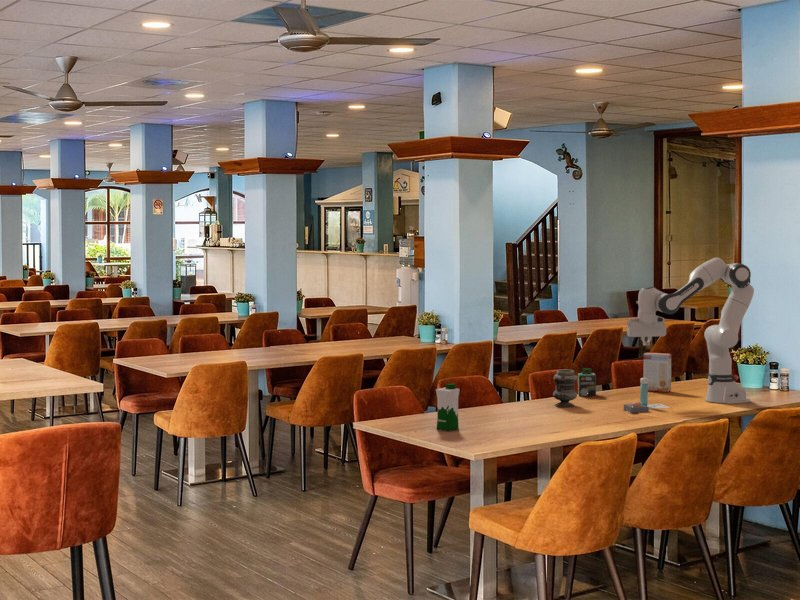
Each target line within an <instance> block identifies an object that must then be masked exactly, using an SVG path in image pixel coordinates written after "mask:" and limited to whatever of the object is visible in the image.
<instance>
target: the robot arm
mask: <svg viewBox="0 0 800 600" xmlns="http://www.w3.org/2000/svg"><path fill="white" fill-rule="evenodd" d="M751 274H752V273H751V270H750V268H749V267H748V266H747V265H746V264H743V263H738V262H737V263H735V262H734V263H726V262H725V261H724V260H723V259H722V258H720V257H713V258H711V259H708V260H706V261H705V262H703V263H702V264H700V265H698V266H697V267H696V268H694V269H693V270H692V271H690V273H689V276H688V282H687V283H686V284H684V285H683V286H682V287H680V289H678V290H677V291H675V292H673V293H665V292H663V291H661V290H659V289H657V288H656V287H654V286H645V287H642V288H641V289H639V292H638V298H637V305H638V310H637V318H629V320H628V321H627V325H626V327H627V328H626V329H627V330H626V335H627V337H628V338H640V340H641V341H642V346H650V345H651V344H650V342H651V341H652V339H653V337H665V336H666V335H667V326H666V323H665V321H666V319H665V318H664V317H662V316H660V315H657V314H656V312H657V311H659V312H661V313H664V314H665V315H673V314H675V313H677V312H678V310H680V308H681V307H682V305H683V303H685V302H686V301H688V300H689V299H690V298H691V297H694V295H696V293H698V292H700V291H702V290H704V289H705V288H708V287H709V286H710V285H712V284H714V283H715V282H717V280H721V282H722V283H725V284H727V285H731V291H730V293H729V295H728V297H727V299H726V300H725V302H724V305H723V306H722V309H721V310H720V319H719V323H718V324H713V325H712V324H711V325H710V326H708V327H706V329H705V330H704V333H703V334H704V337H703V338H704V339H705V341H706V347H707V353H708V359H709V362H708V374H707V376H708V377H707V383H708V385H707V393H706V397H705V401H706V402H710V403H711V402H712V403H716V404H728V405H731V404H733V405H734V404H743V403H751V399H750V398H748V397H747V391H746V389H745V388H744V387H743V386H741V385H740V384H739V383H738V382H736V380H738V379H739V376H738V375H737V374H735V375H734V374H732V371H733V370H732V366H733V365H732V363H733V362H732V361H733V359H732V357H731V354H730V349H731V348H733V347H735V346H736V345H737V344H738V342H739V332H740V327H741V324H742V321H743V319H744V317H745V315H746V313H747V310H748V309H749V307H750V305H751V302H752V300H753V297H754V293H755V288H754V287H753V285H752V284H751V277H752V275H751ZM646 338H647V341H646Z"/></svg>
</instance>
